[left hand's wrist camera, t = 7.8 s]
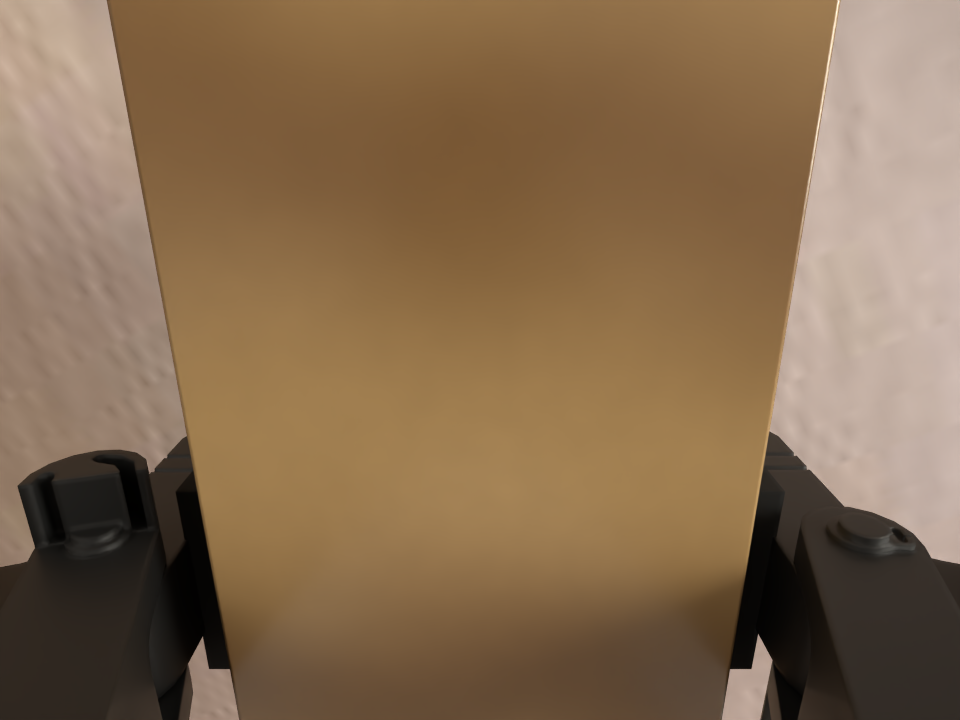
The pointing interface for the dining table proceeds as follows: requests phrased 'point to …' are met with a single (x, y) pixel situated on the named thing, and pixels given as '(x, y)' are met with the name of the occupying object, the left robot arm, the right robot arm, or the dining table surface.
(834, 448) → the dining table surface
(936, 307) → the dining table surface
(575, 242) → the post
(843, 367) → the dining table surface
